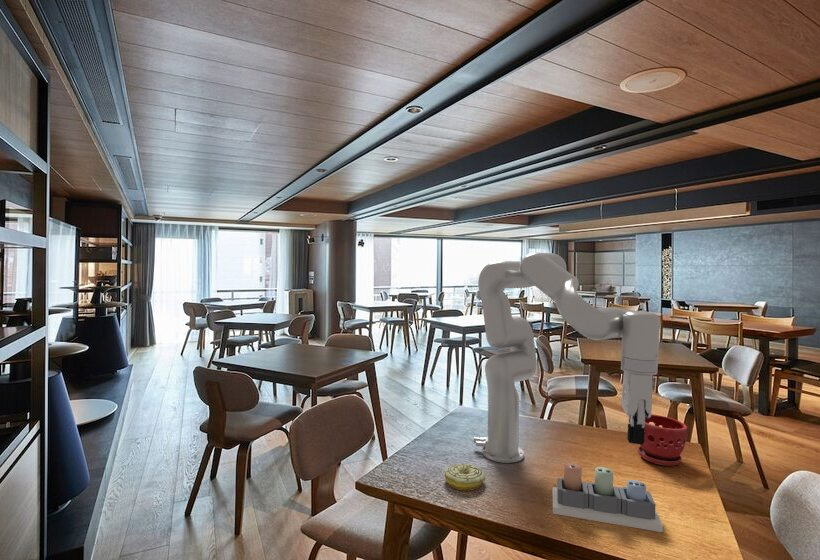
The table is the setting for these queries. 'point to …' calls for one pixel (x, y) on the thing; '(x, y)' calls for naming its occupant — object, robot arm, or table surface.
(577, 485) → the button one pip
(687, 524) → the table surface
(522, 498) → the table surface
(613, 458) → the table surface
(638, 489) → the button three pip
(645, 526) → the button board
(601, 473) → the button two pip
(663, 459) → the plant pot
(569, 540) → the table surface
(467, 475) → the decorated donut
